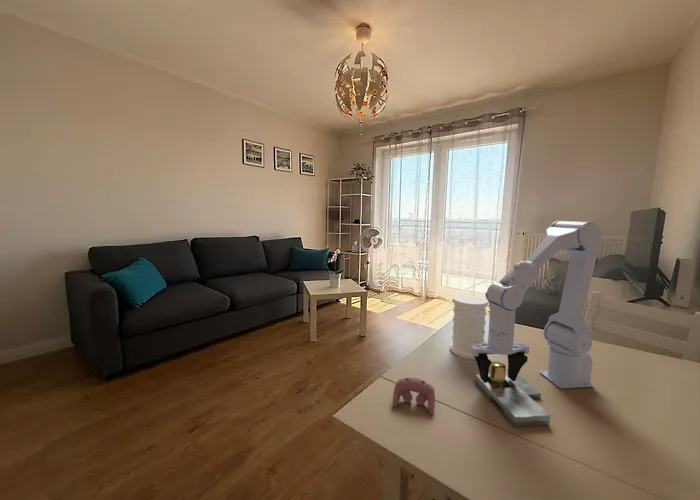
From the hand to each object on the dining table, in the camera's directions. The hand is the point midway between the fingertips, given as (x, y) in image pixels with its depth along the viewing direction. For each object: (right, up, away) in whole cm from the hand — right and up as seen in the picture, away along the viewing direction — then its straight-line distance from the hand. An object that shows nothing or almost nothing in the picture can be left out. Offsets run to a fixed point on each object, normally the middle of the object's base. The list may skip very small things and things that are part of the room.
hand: (497, 379), depth 76 cm
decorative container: (+1, 0, +22) cm, 22 cm away
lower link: (+2, -3, +1) cm, 4 cm away
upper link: (0, -4, -4) cm, 5 cm away
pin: (0, -3, +1) cm, 3 cm away
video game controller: (-23, -4, -5) cm, 24 cm away
